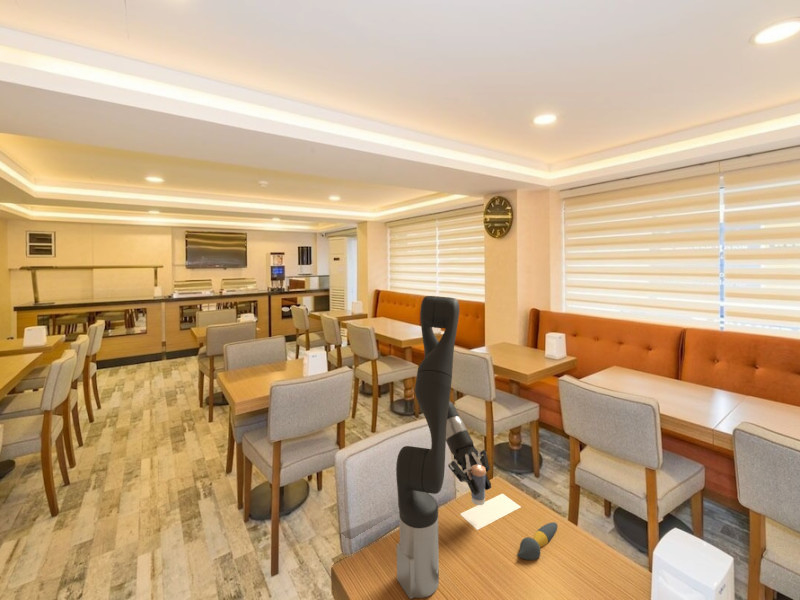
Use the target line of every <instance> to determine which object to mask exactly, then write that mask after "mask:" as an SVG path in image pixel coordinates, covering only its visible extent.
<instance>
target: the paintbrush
mask: <svg viewBox="0 0 800 600" xmlns="http://www.w3.org/2000/svg"><path fill="white" fill-rule="evenodd" d="M557 530H558V524H557V522H554V521H553V522H548V523H546V524H544V525H542V526H541V527H539V529H537V530H536V531H535V533H534V535H533V537H530V536H529V537H524V538H522V540H521V542H520V544H519V553H517V555H516V556H517V557H519V558H521V559H523V560H525V561H526V560H527V561H534V560H537V559H539V557H541V548H542V547H544V546H546V545H547V544H549V543H550V542H551V540H552V539H553V538H554V536H555V535H556V533H557Z"/></svg>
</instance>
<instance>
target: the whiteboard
mask: <svg viewBox="0 0 800 600" xmlns="http://www.w3.org/2000/svg"><path fill="white" fill-rule="evenodd" d="M520 508H522V507H521V505H519V504H518V503H516V502H515V501H513V499H511V498H509V497H508V496H507V495H505V494H504V493H500V494H498V495H496V496H494V497H491V498H490V499H488V500H485V503H484V504H483V505H475V506H474V507H471V508H470V509H468V510H465V511H463V512H461V513H459V515H460V516H461V517H462V518H463V519H465V520H466V521H467V522H468V524H469V525H471V526H472V527H473V528H475V530H476V531H478V530H480V529H482V528H484V527H486V526H488V525H490V524H491V523H493V522H496V521H497V520H500V519H501V518H503V517H505V516H507V515H509V514H511V513H513V512H515V511H516V510H519V509H520Z"/></svg>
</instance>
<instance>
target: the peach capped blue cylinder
mask: <svg viewBox="0 0 800 600" xmlns="http://www.w3.org/2000/svg"><path fill="white" fill-rule="evenodd" d="M471 473H472V477H473V479H474V481H475V483H476V485H477V487H478V489H479V492H480V493H479V494H477V495H474V494H473V493H472V492H471V491H470V492H471V494H470V495H471V502H472V504H473V505H475V506H477V505H483V504H484V503H485V502H486V489H485V474H487V473H486V469H485V467H484V466H482V465H473V466H472V467H471ZM473 479H472V480H473Z"/></svg>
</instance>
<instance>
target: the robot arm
mask: <svg viewBox="0 0 800 600" xmlns="http://www.w3.org/2000/svg"><path fill="white" fill-rule="evenodd" d="M419 315H420V318H419V319H420V327H421V337H422V342H423V343H422V344H423V351H424V358H423V360H422V361H421V363H420V364H419V366H418V368H417V372H416V380H415V385H414V395H415V397H416V401H417V403H418V406H419V408H420V410H421V411H422V414H423V416H424V419H425V421H426V422H427V423H426V424H427V426H428V429H429V433H430V440H431V441H430V442H431V447H430V448H427V447H426V448H425V447H419V446H411V445H405V446H403V447H402V448H401V449H400V450H399V453H398V455H397V458H396V467H395V468H396V469H395V472H396V488H397V489H396V490H397V502H398V503H397V505H398V509H399V512H398V514H399V542H398V543H396V581H397V582H398V583H399V585H400V586H401V588H402V589H403V591H404V593H405V594H406V595H407V597H408V598H409V600H413V599H414V598H415V599H416V598H417V599H418V598H420V599H422V598H428V597H430V596H431V595H433V594H434V593H435V592H436V591H437V589H438V587H439V581H440V580H439V579H440V577H439V576H440V574H439V573H440V570H439V568H440V567H439V566H440V565H439V560H440V559H439V557H440V556H439V505H438V502H437V500H436V499H435V497H434V496H432V495H431V494H433V495H435V494H436V495H437V494H439V493H440V492H441V490H442V487H443V484H444V479H445V468H446V465H445V464H446V446H448V449H449V451H450V453H451V454H452V456H453V460H452V461H451V462H450V463H448V468H449V470H450V471H451V472H452V474H454V475H455V477H456V478H457V479H458V481H459V482H461V483H462V482H463V483H464V482H465V483H466V484H467V485H468V487H469V490H470V492H472V493H473V494H474V495H477V494H479V493H480V492H479V489H478V487H477V485H476V483H475V481H474V479H473V477H472V473H471V467H472V466H473V465H482V466H484V467H485V469H486V474H485V491H488V490H490V489H491V488H492V483H491V481H490V478H489V477H488V475H487V473H488V472H489V471H490V469H491V468H490V464H489V458H488V454H487V451H486V450H485V449H483V450H478V449H477V448H476V447H475V445H474V441H473V438H472V437H471V434H470V433H469V430H468V429H467V427H466V425H465V423H464V421H463V420H462V418H461V416H460V415H459V413H458V410H457V408H456V406H455V404H454V403H453V402H452V401H450V398H451V390H452V380H453V363H454V353H455V352H454V351H455V344H456V337H457V332H458V324H459V319H460V318H459V317H460V301H459V300H458V299H457V298H455V297H449V296H438V295H437V296H436V295H426V296H424V297H423V299H422V301H421V305H420V313H419ZM433 328H435V329H436V328H437V329H444V332H443V334H442V336H441V338H440V340H438V338H437V337H436V334H435V333H434V330H433ZM446 444H447V445H446ZM472 479H473V480H472Z"/></svg>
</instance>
